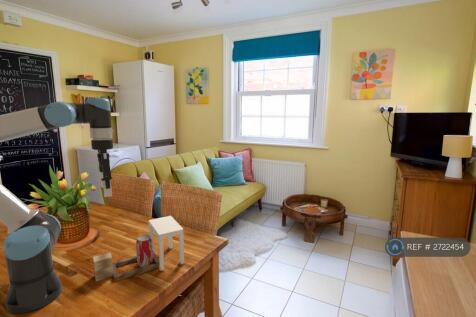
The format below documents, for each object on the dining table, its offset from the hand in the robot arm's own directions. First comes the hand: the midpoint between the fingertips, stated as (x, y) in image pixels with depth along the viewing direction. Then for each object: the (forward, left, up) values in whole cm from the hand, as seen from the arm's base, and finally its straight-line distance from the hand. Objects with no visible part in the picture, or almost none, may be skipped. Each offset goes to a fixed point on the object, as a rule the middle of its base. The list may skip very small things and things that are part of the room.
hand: (106, 191), depth 105 cm
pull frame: (+5, -9, -31) cm, 32 cm away
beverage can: (+11, -10, -31) cm, 34 cm away
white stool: (+20, -9, -31) cm, 38 cm away
